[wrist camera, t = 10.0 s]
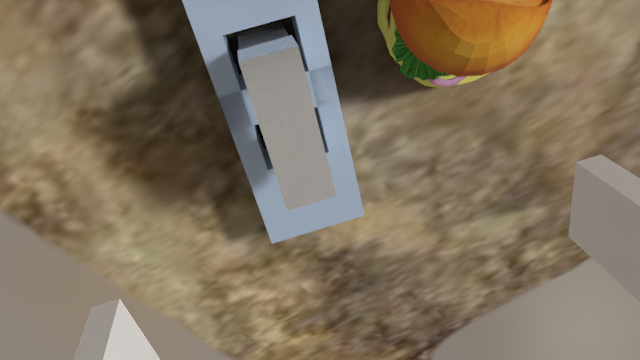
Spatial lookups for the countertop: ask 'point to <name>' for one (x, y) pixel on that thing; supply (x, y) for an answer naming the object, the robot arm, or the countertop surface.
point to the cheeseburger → (458, 36)
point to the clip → (285, 113)
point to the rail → (210, 31)
